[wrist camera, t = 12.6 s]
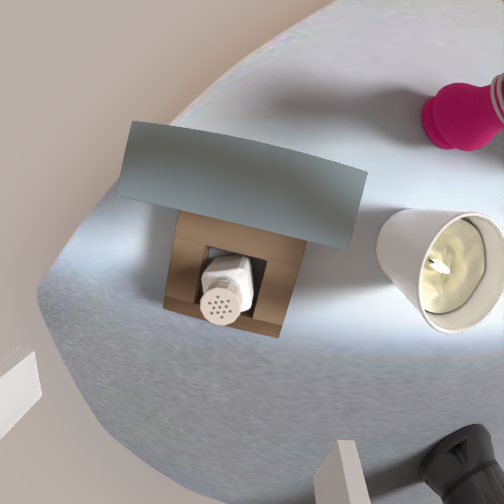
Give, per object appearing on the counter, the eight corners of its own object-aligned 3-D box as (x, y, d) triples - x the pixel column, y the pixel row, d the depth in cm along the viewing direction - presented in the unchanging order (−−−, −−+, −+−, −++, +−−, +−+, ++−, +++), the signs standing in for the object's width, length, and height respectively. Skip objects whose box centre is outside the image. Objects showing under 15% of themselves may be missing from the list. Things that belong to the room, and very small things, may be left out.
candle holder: (356, 275, 32) (397, 322, 20) (384, 188, 29) (443, 192, 18) (426, 296, 32) (481, 342, 20) (453, 218, 30) (521, 235, 18)
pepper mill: (421, 151, 28) (559, 132, 9) (412, 90, 27) (529, 22, 7) (469, 155, 28) (600, 149, 8) (461, 97, 26) (579, 56, 7)
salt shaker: (255, 288, 33) (250, 327, 23) (219, 292, 33) (200, 332, 24) (250, 251, 32) (241, 279, 22) (212, 257, 32) (189, 285, 23)
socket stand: (277, 323, 33) (281, 429, 17) (173, 296, 33) (104, 380, 17) (317, 179, 30) (367, 172, 14) (201, 152, 30) (132, 120, 14)
